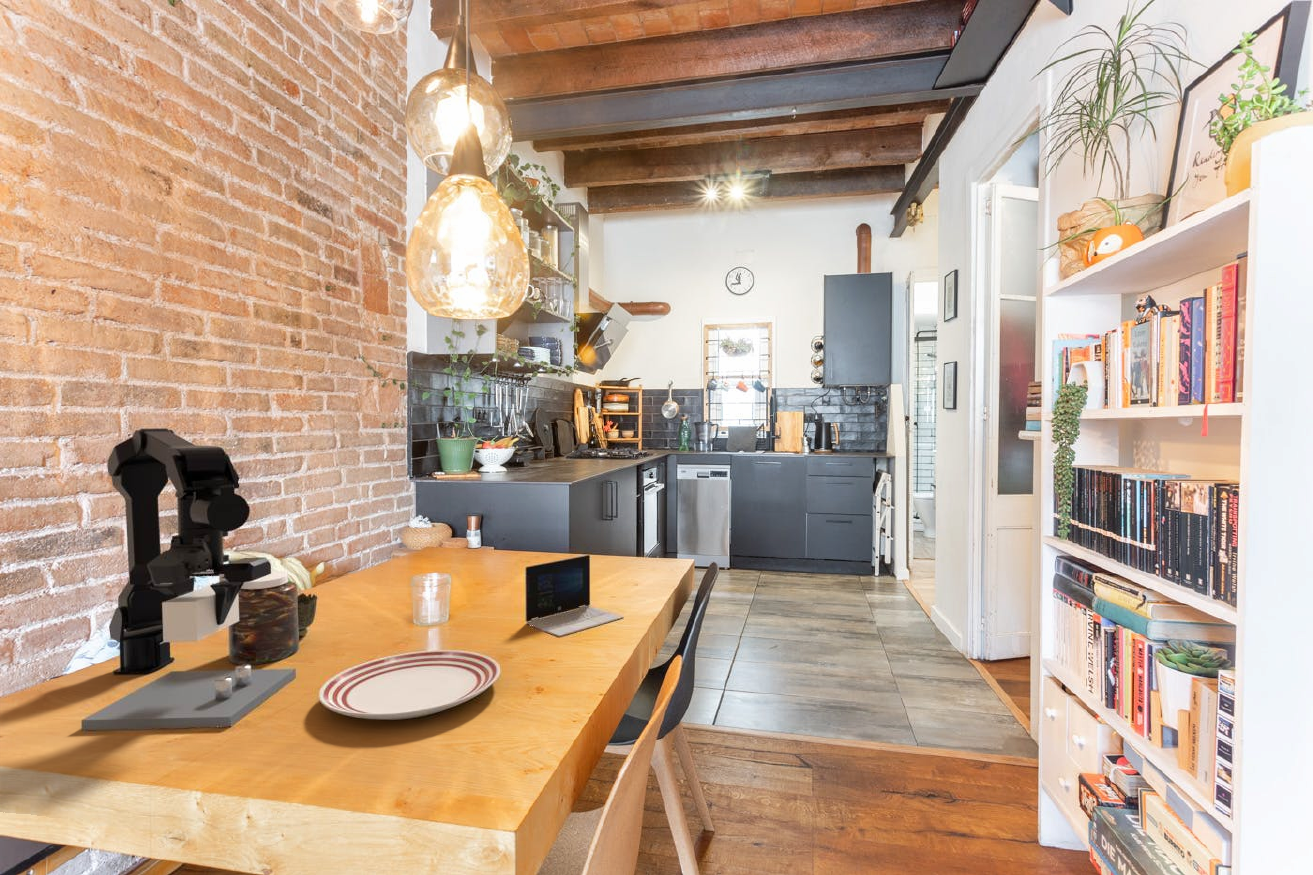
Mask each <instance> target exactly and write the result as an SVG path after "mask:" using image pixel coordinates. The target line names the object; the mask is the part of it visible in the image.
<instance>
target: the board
mask: <svg viewBox="0 0 1313 875" xmlns="http://www.w3.org/2000/svg"><path fill="white" fill-rule="evenodd" d="M226 676H230V677H232V698H230V699H228V700H225V701H215V680H216V679H218V678H221V677H226ZM296 676H297V670H296V668H279V669H278V668H277V669H271V668H270V669H267V668H265V669H251V685H249V686H247V687H242V688H237V687H235V669H233V670H232V669H231V670H230V669H226V670H225V669H224V670H223V669H222V670H221V669H220V670H219V669H217V670H178V671H177V670H176V671H175V670H172V671H170V672H168V673H165V674H164V675H162V676H160V677H159V678H156V679H155V680H153V681H151V682H149V683H148V684H145V685H143V686H142V687H140V688H138V689H137V690H135V691H133V692H131V693H129V694H127V695H126V696H125V695H124V696H123V697H121V698H120V699H118V700H116V701H114V702H113V703H110V704H109V705H107V706H105V707H103V708H102V709H99V710H97V711H95V712H94V713H92V714H90V715H88V716H87V717H85V718H82V719H80V721H81V731H102V730H103V731H110V730H111V731H115V730H121V729H122V730H152V729H151V728H166V729H184V728H183V727H210V728H225V727H224V726H231V725H233V724H234V725H235V724H237V723H238V722H239V721H241V720H242V719H243V718H244V717H245V716H244V715H246V714H247V713H248V712H250V711H251V710H252V711H254V710H255V709H256V708H258V707H259V706H260V705H262V704H263V703H264V702H266V701H267V700H268V699H269V698H271V697H272V696H273V695H275V694H276V693H277V692H278V691H280V690H281V689H282V688H284V687H285V686H286V685H288V684H289V683H290V682H292V681H293V680H294V679H296V678H297V677H296ZM271 695H272V696H271ZM270 696H271V697H270ZM267 698H268V699H267ZM266 699H267V700H266ZM265 700H266V701H265ZM262 702H263V703H262ZM261 703H262V704H261ZM258 705H259V706H258ZM257 706H258V707H257ZM252 711H251V712H252ZM251 712H250V713H251ZM248 714H249V713H248ZM248 714H247V715H248ZM247 715H246V716H247ZM243 716H244V717H243ZM242 717H243V718H242ZM241 718H242V719H241ZM240 719H241V720H240ZM237 721H238V722H237ZM236 722H237V723H236ZM234 725H233V726H234ZM217 726H218V727H217ZM220 726H222V727H220ZM231 727H232V726H231Z"/></svg>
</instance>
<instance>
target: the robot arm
mask: <svg viewBox="0 0 1313 875" xmlns="http://www.w3.org/2000/svg"><path fill="white" fill-rule="evenodd" d="M107 473H108V475H109V476H110V477H111V483H112V486H113V487H114V489H115V490H116V491H117V492H118V493H119V494H120V495H121V496H122V498H124V503H125V523H126V524H125V525H126V542H127V544H126V545H127V563H128V564H127V566H128V581H127V583H126V584H125V586H124V587H123V589H122V590H121V592H120V593H119V595H118V597H117V598H118V599H117V607H116V608H115V610H114V613H113V614H112V617H111V620H110V623H109V625H108V628H109V629H108V630H109V637H110V639H112V640H113V641H115V642H118V643H119V668H116V669H114V670H113V671H112V674H113V675H115V674H116V675H122V674H123V675H124V674H126V675H128V674H129V675H130V674H133V675H134V674H150V673H152V672H155V671H156V670H159V669H160V668H162V667H164V666H166V665H167V664H168V665H169V664H170V663H171V662H174V661H175V657H171V642H163V612H162V602H165V601H168V600H171V599H173V598H176V597H179V596H181V595H184V594H187V593H190V592H192V591H195V580H196V579H195V578H196V577H219V578H218V580H219V581H218V582H215V583H213V584H210V585H209V586H210V587H211V588H212V589H213V591H214V592H215V594H216V620H217V625H221V624H223V623H224V622H225V619H226V617H227V615H228V613H229V611H230V608H231V606H232V604H233V602H234V600H235V598H236V596H237V594H238V592H239V591H240V589H241V587H242V586H243V584H244V582H250V581H254V580H256V579H259V578H261V577H264V576H266V575H269V574H271V572H272V564H271V562H270V560H269V559H268V558H267V557H266V556H265V557H244V558H240V559H238V560H237V559H236V560H235V561H232V562H231V561H230V558H229V554H224V538H225V537H228V536H229V532H233V531H237V530H238V529H240V528H241V527H243V525H244V524H246V522H247V521H248V519H249V516H250V511H251V510H250V509H251V508H250V506H249V503H248V501H247V500H246V499H245V497H243V496H242V495H239V494H237V493H236V492H235V491H236V489H239V488H240V483H239V481H240V476H239V475H238V472H237V470H236V468H235V467H234V465H233V463H232V461H231V459H230V456H229V455H228V453H226V451H225V450H224V449H223V448H222V447H221V446H215V445H197V444H194V443H192V442H191V441H188V440H187V439H184V438H183V437H181V436H179V435H177V434H175V432H174V431H173V430H172V429H169V428H166V427H165V428H164V427H163V428H161V427H160V428H153V427H152V428H140V429H137V430H134V432H133V434H132V436H131V437H128V439H126V440H124V441H122V442H121V443H118V444H117V445H115V446H114V447H113V449H112V451H111V452H110V455H109V456H108V459H107ZM169 480H170V483H171V484H172V485H173V487H174V489H175V491H176V492H175V493H174V494H175V498H177V499H176V501H177V504H176V505H177V534H176V535H172V536H171V539H170V546H169V549H167V550H164V551H163V552H161V547H162V546H161V531H160V530H161V528H160V513H159V496H161V494H162V492H163V490H164V489H165V488H166V486H167V484H168V483H169ZM229 561H230V562H229ZM227 562H228V563H227Z"/></svg>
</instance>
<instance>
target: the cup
mask: <svg viewBox="0 0 1313 875" xmlns="http://www.w3.org/2000/svg"><path fill="white" fill-rule="evenodd" d="M317 601H318V596H317V594H311V593H310V594H308V595H307V594H306V593H304V592H303V593H299V595H298V616H299V638H302V637H303V638H304V636H306V635H307V634H308V630H309V629H308V627H310V626H311V625H312V624H313V623H314V620H315V618H316V611H317V603H318V602H317Z"/></svg>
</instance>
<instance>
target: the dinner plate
mask: <svg viewBox="0 0 1313 875" xmlns="http://www.w3.org/2000/svg"><path fill="white" fill-rule="evenodd" d="M500 675H501V667H500V664H499V663H498V662H497V661H496V660H495V659H493V658H492V657H489V656H488V655H484V654H481V653H478V652H472V651H466V650H456V649H455V650H454V649H437V650H434V649H433V650H421V651H413V652H405V653H398V654H395V655H394V654H393V655H389V656H384V657H380V658H377V659H373V660H369V661H366V662H363V663H360V664H357V665H355V666H352V667H349V668H347V669H345V670H342V671H341V672H338V673H337V674H336V675H334V676H332V677H331V678H329V679H328V680H327V681H325V683H324V684H323V685H322V686H321V687H320V689H319V691H318V700H319V702H320V703H321V704H322V706H324V707H325V708H327V709H328V710H331V711H332V712H334V713H338V714H340V715H343V716H348V717H352V718H358V719H359V718H360V719H366V720H382V721H384V720H386V721H394V720H396V721H397V720H398V721H399V720H407V719H414V718H415V719H416V718H421V717H425V716H430V715H433V714H436V713H439V712H443V711H445V710H448V709H450V708H454V707H456V706H458V705H461V704H464V703H465V702H468V701H469V700H471V699H473V698H476V697H477V696H479V695H480V694H481V693H483V692H484V691H486V690H488V688H490V687H491V686H492V685H493V684H494V683H495V682H496V681H497V679H498V678H499V677H500Z"/></svg>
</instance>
